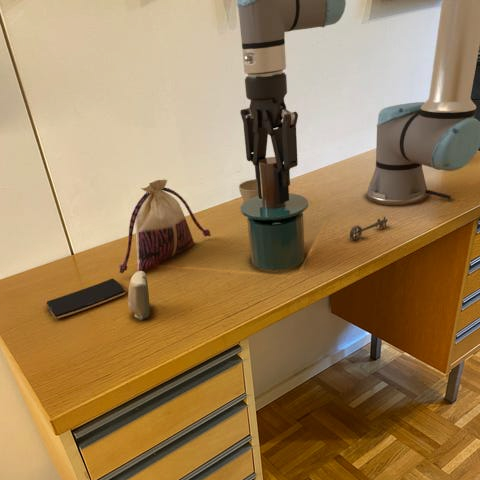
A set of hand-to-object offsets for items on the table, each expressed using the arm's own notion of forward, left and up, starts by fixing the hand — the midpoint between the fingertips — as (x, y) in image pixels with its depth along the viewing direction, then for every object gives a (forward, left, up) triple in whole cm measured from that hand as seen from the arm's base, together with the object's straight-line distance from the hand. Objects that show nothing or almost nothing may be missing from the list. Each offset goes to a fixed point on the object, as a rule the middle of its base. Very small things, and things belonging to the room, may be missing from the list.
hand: (273, 198), depth 100 cm
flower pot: (+14, -29, -14) cm, 35 cm away
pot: (0, 0, -14) cm, 14 cm away
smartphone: (+34, +24, -14) cm, 44 cm away
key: (-17, -16, -14) cm, 27 cm away
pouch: (+26, +3, -14) cm, 30 cm away
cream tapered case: (+19, +26, -14) cm, 35 cm away
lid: (0, 0, -2) cm, 2 cm away
